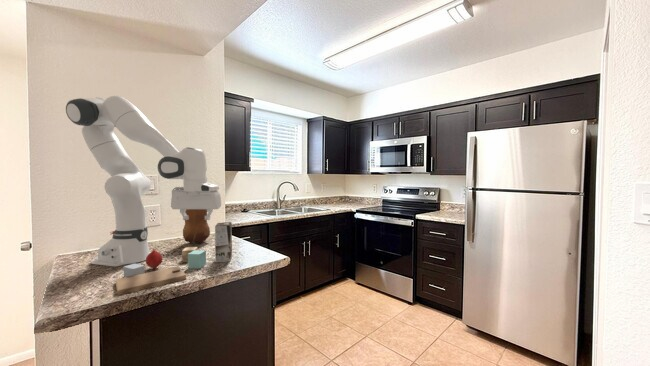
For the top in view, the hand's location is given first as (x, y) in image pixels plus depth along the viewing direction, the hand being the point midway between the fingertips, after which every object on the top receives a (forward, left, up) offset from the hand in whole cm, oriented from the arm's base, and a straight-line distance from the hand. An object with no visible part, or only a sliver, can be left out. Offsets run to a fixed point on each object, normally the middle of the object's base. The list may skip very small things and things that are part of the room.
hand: (196, 219), depth 111 cm
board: (-8, -16, -20) cm, 27 cm away
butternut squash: (-20, +34, -20) cm, 44 cm away
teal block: (0, 0, -20) cm, 20 cm away
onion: (-16, -4, -20) cm, 26 cm away
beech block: (-8, +8, -20) cm, 23 cm away
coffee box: (+7, +10, -20) cm, 23 cm away
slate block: (-18, -12, -20) cm, 29 cm away
